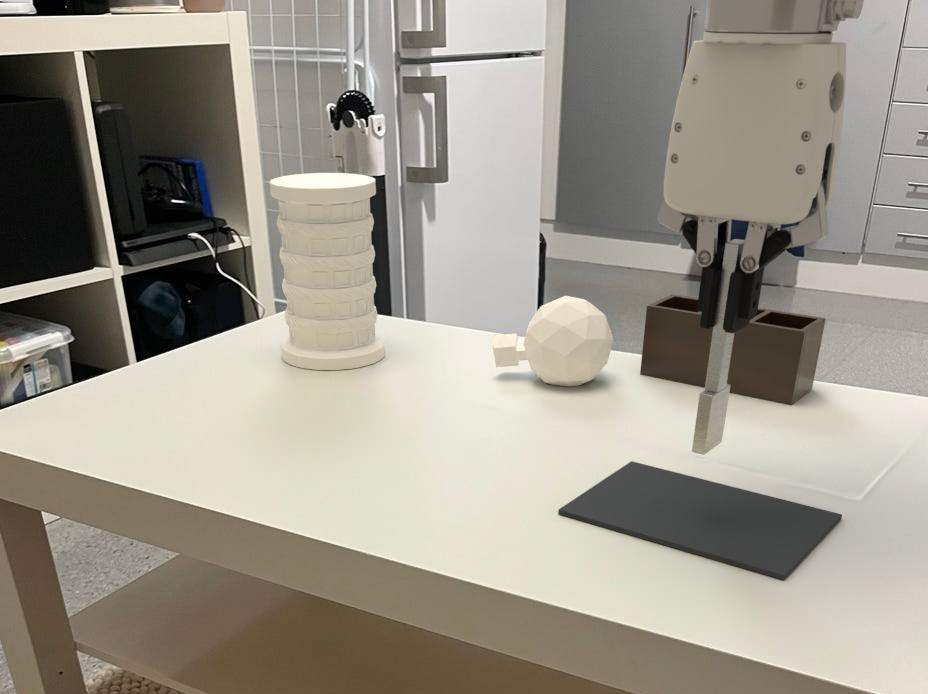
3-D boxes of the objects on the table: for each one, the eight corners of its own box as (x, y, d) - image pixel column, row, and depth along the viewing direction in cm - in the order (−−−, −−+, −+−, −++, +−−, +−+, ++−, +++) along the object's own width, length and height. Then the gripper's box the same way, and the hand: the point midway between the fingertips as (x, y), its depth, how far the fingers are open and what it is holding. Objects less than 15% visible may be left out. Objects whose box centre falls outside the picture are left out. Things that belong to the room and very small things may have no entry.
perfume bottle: (615, 352, 108) (504, 362, 110) (611, 274, 101) (492, 285, 103) (615, 403, 102) (497, 411, 104) (610, 323, 95) (485, 334, 98)
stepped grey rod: (722, 442, 76) (753, 238, 68) (704, 455, 73) (734, 246, 66) (709, 439, 76) (739, 236, 68) (691, 452, 74) (720, 244, 66)
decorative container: (406, 350, 115) (401, 178, 105) (339, 377, 107) (327, 192, 97) (329, 334, 121) (318, 169, 111) (260, 358, 113) (242, 182, 103)
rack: (664, 366, 110) (672, 294, 106) (811, 394, 102) (826, 318, 98) (639, 379, 106) (646, 305, 102) (790, 410, 98) (804, 331, 94)
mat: (841, 519, 77) (842, 514, 77) (783, 580, 69) (785, 575, 69) (630, 465, 86) (631, 460, 86) (558, 514, 78) (558, 509, 78)
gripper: (921, 15, 59) (853, 333, 69) (678, 13, 67) (648, 299, 77) (882, 16, 54) (815, 359, 64) (625, 14, 62) (600, 320, 71)
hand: (724, 325), depth 70 cm, fingers closed on stepped grey rod, 1 cm apart
